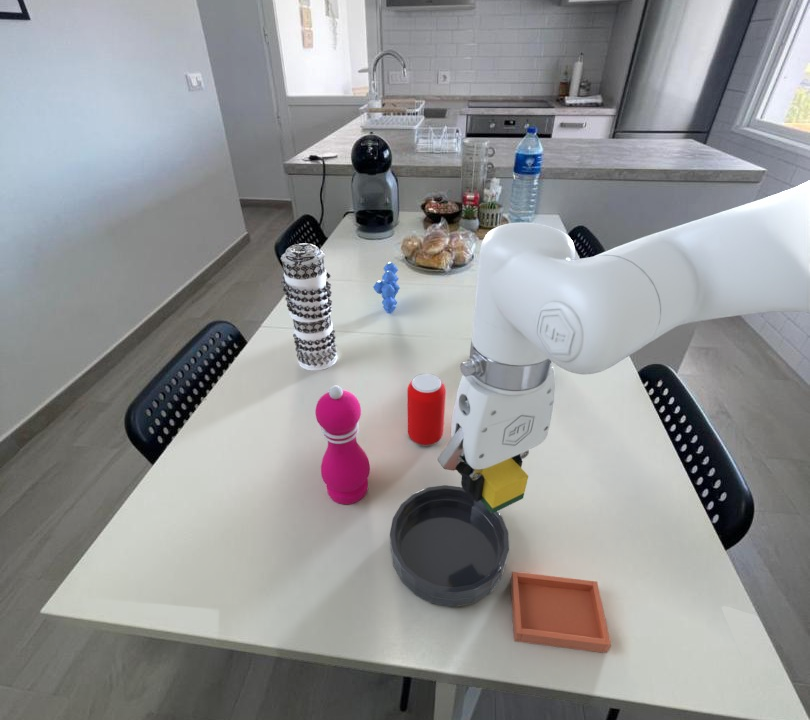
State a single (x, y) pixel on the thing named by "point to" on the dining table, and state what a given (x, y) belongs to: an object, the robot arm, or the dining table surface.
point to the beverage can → (425, 409)
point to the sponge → (503, 485)
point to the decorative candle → (309, 306)
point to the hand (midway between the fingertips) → (489, 482)
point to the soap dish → (558, 612)
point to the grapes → (388, 287)
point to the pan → (448, 546)
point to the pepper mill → (342, 446)
